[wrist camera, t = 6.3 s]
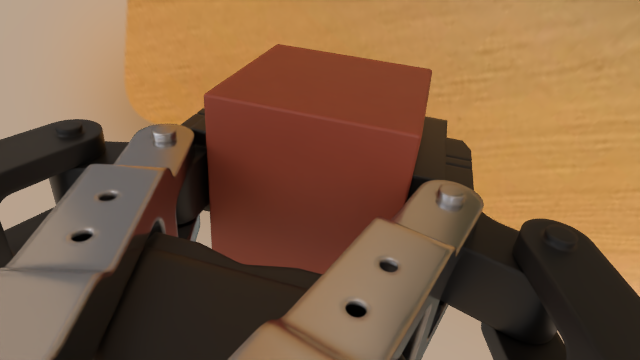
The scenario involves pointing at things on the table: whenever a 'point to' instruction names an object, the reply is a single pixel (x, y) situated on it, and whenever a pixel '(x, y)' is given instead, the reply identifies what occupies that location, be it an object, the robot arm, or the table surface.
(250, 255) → the block
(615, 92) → the table surface
